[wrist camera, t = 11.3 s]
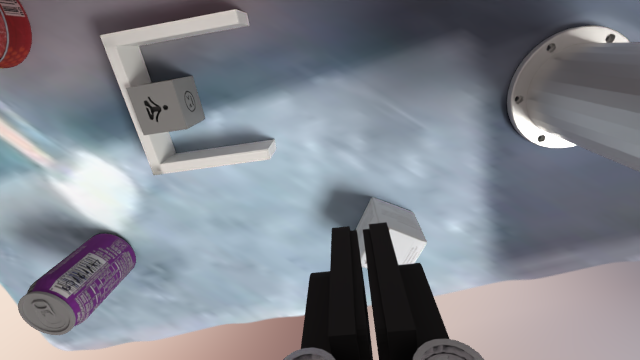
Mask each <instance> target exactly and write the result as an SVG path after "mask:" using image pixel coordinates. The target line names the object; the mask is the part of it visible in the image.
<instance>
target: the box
mask: <svg viewBox="0 0 640 360" xmlns="http://www.w3.org/2000/svg"><path fill="white" fill-rule="evenodd" d="M245 26H250V24H249V20H248V15H247V13H245V12H242V11H239V10H237V9H234V10H229V11H224V12H219V13H213V14H208V15H203V16H198V17H193V18H187V19H182V20H177V21H172V22H167V23H161V24H156V25H151V26H146V27H141V28H135V29H130V30H125V31H120V32H114V33H109V34H104V35H100V37H101V40H102V42H103V45H104V48H105V50H106V53H107V55H108V58H109V60H110V63H111V66H112V68H113V71H114V73H115V76H116V79H117V81H118V84H119V86H120V89H121V92H122V94H123V97H124V99H125V102H126V105H127V107H128V110H129V112H130V115H131V118H132V120H133V123H134V125H135V128H136V131H137V133H138V136H139V138H140V141H141V143H142V146H143V149H144V151H145V154H146V156H147V159H148V162H149V164H150V167H151V169H152V172H153V175H159V174H166V173H173V172H180V171H188V170H195V169H202V168H210V167H217V166H224V165H232V164H239V163H246V162H254V161H261V160H268V159H271V157H272V156H273V154H274V152H275V151H276V149H277V147H276V143H275V139H272V140H265V141H258V142H251V143H245V144H238V145H231V146H224V147H217V148H210V149H203V150H196V151H189V152H182V153H176V152H175V149H174V146H173V143H172V140H171V137H170V134H169V132H163V133H157V134H150V135H143V132H142V129H141V127H140V124H139V122H138V119H137V116H136V114H135V111H134V108H133V106H132V103H131V100H130V98H129V95H128V92H127V90H126V88H128V87H133V86H138V85H143V84H148V83H152V82H151V79H150V77H149V74H148V71H147V68H146V65H145V62H144V59H143V56H142V54H141V51H140V48H139V46H143V45H148V44H153V43H159V42H164V41H170V40H175V39H180V38H186V37H191V36H197V35H202V34H207V33H213V32H218V31H224V30H229V29H234V28H240V27H245Z"/></svg>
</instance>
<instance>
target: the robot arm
mask: <svg viewBox="0 0 640 360" xmlns="http://www.w3.org/2000/svg"><path fill="white" fill-rule="evenodd" d="M547 46H548V49H547ZM516 97H517V99H516V100H515V98H516ZM507 108H508V114H509V118H510V121H511V123H512V125H513V126H514V128H515V130H516V131H517V132H518V133H519V134H520V135H521V136H522V137H524V138H525V139H527V140H529V141H530V142H532V143H534V144H536V145H539V146H543V147H547V148H567V147H573V146H576V145H577V146H579V147H582V148H584V149H586V150H589V151H591V152H594V153H596V154H598V155H601V156H603V157H605V158H608V159H610V160H613V161H615V162H617V163H620V164H622V165H624V166H627V167H629V168H632V169H634V170H636V171H639V172H640V42H630V41H629V40H628V39H627V38H626V37H625V36H623V35H622V34H621V33H619V32H618V31H615V30H613V29H610V28H608V27H602V26H581V27H575V28H569V29H567V30H564V31H561V32H558V33H556V34H554V35H552V36H551V37H549V38H547V39H545V40H544V41H543V42H541V43H540V44H539V45H537V46H536V47H535V48H534V49H533V50H532V51H531V52H530V53H529V54H528V55H527V56H526V57H525V58H524V60H523V61H522V62H521V64H520V65H519V67H518V68H517V70H516V72H515V74H514V76H513V78H512V80H511V83H510V87H509V90H508V97H507ZM363 237H364V245H365V253H366V261H367V269H368V277H369V285H370V293H371V301H372V309H373V317H374V324H375V332H376V340H377V347H378V355H379V360H484V359H483V358H482V356H481V355H480V354H479V353H478V352H476V351H475V350H474V349H472V348H471V347H470V346H468V345H465V344H464V343H461V342H459V341H456V340H451V339H449V337H448V334H447V332H446V329H445V326H444V324H443V321H442V319H441V315H440V313H439V310H438V308H437V305H436V303H435V300H434V297H433V294H432V292H431V289H430V286H429V284H428V281H427V278H426V276H425V273H424V270H423V268H422V266H421V264H420V263H413V264H403V265H398V262H397V258H396V254H395V251H394V247H393V243H392V240H391V236H390V232H389V229H388V225H387V222H384V223H375V224H369V229H363ZM283 360H373V357H372V347H371V339H370V329H369V320H368V312H367V302H366V294H365V287H364V279H363V272H362V264H361V257H360V249H359V242H358V235H357V230H354V231H350V227H349V226H347V227H338V228H332V241H331V269H330V271H329V272H318V273H311V274H310V279H309V287H308V295H307V304H306V312H305V320H304V328H303V336H302V344H301V349H300V350H297V351H295V352H293V353H291V354H290V355H288V356H287V357H285V358H284V359H283Z"/></svg>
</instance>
